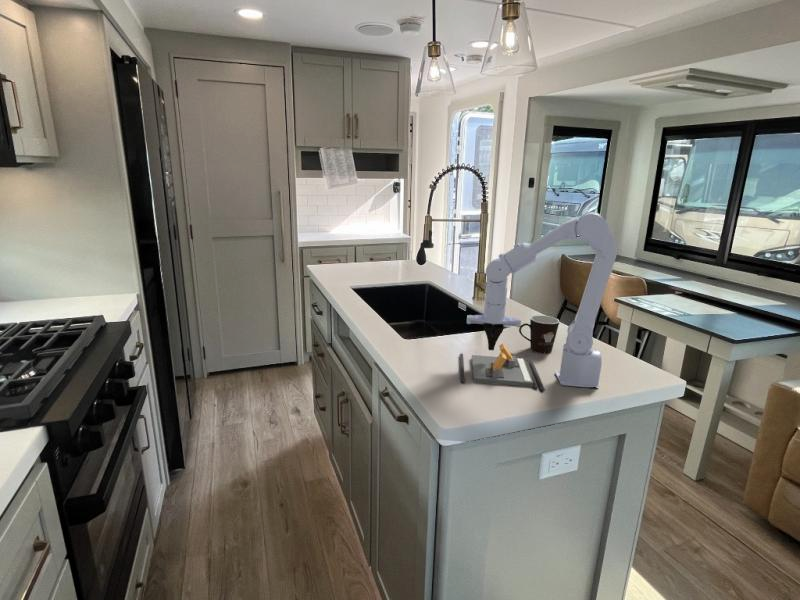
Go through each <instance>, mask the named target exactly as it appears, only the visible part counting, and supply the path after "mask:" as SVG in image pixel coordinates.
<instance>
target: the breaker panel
mask: <svg viewBox="0 0 800 600" xmlns="http://www.w3.org/2000/svg"><path fill="white" fill-rule="evenodd" d="M510 354H511V355H512V358H513V360H512V359H509V361H508V360H506V361H505V362H504V364H503V365H502V367H501V368H500V370H493V367H492V365H493V364H494V362H495V361H496V359H497V358H498V356H492V355H489V356H488V355H480V354H479V355H477V354H472V355H471V363H472V364H471V365H472V375H473V383H480V384H482V383H483V384H492V385H493V384H494V385H503V386H504V385H505V386H517V387H529V388H534V387H533V380H532V378H531V375H530V372H529V370H528V367H527V365H526V362H525V361H526V359H525V358H517V357H513V352H510ZM506 359H507V358H506Z"/></svg>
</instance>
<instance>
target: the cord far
mask: <svg viewBox="0 0 800 600" xmlns="http://www.w3.org/2000/svg"><path fill="white" fill-rule="evenodd" d="M464 365H465V363H464V354H463V353H461V352H460V354H459V367H460V368H459V369H460V373H459V375H460V383H462V384H464V383H465V381H466V380H465V379H466V378H465V366H464Z"/></svg>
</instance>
